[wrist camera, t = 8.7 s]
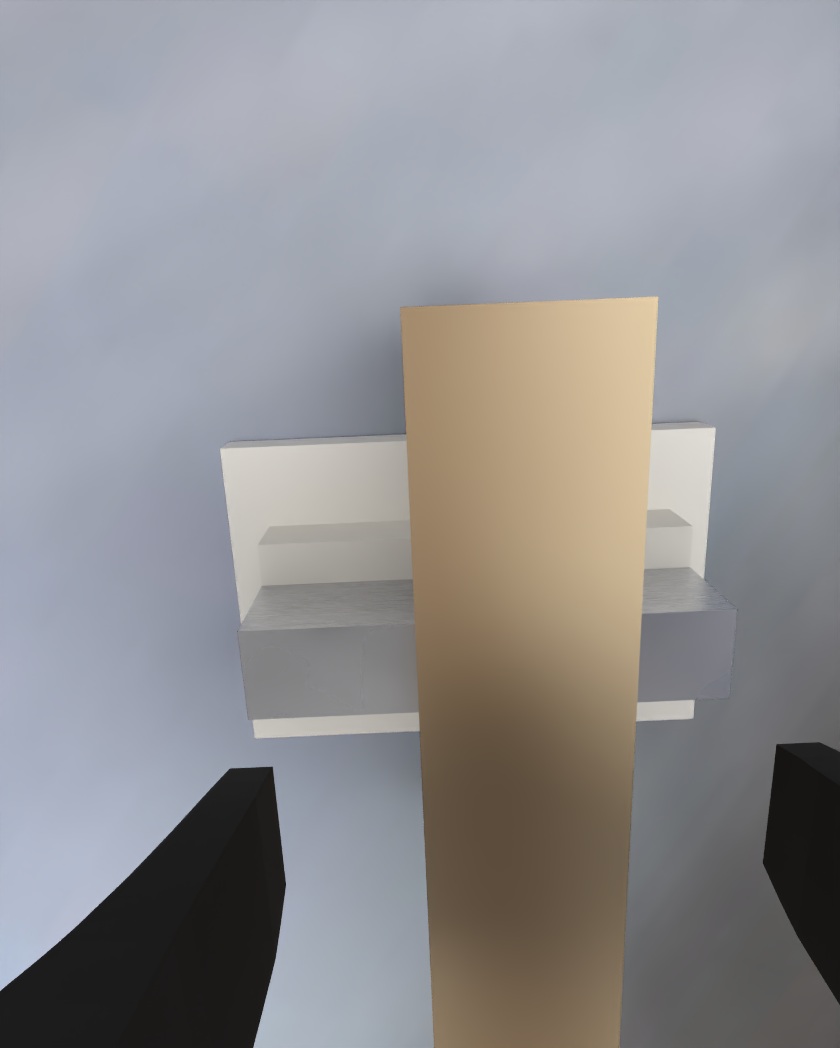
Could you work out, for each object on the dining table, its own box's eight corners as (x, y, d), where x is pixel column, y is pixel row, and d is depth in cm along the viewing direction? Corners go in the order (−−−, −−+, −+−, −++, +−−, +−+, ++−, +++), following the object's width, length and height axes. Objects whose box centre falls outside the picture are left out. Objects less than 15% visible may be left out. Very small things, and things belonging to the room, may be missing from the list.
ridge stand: (699, 421, 18) (804, 459, 13) (679, 699, 20) (763, 817, 16) (230, 441, 18) (166, 487, 13) (262, 718, 20) (217, 842, 16)
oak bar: (562, 304, 12) (658, 297, 8) (551, 936, 16) (611, 1192, 12) (402, 310, 12) (400, 308, 8) (431, 942, 16) (441, 1200, 12)
